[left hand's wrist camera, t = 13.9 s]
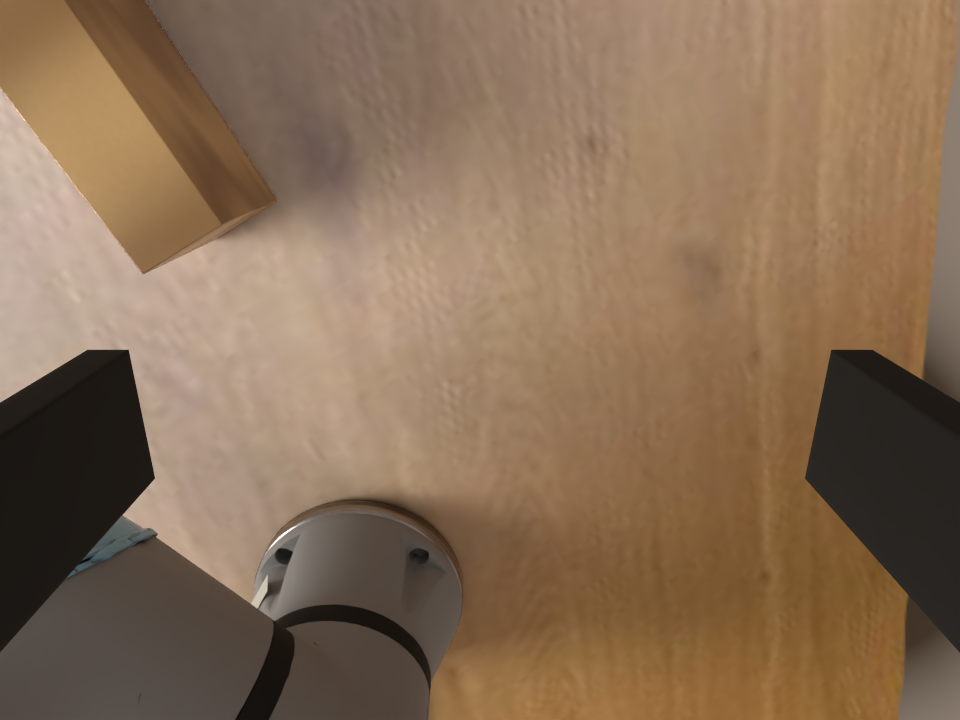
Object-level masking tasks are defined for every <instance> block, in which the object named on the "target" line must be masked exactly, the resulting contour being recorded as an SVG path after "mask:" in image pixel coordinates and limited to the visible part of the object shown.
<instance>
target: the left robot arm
mask: <svg viewBox="0 0 960 720" xmlns="http://www.w3.org/2000/svg"><path fill="white" fill-rule="evenodd" d="M154 479H155V476H154V471H153V467H152V462H151V457H150V452H149V447H148V442H147V437H146V433H145V428H144V423H143V418H142V413H141V408H140V403H139V398H138V394H137V389H136V384H135V379H134V374H133V369H132V364H131V359H130V355H129V350H87V351H85V352H83V353H82V354H80V355H78V356H77V357H75V358H73V359H72V360H70V361H68V362H67V363H65V364H64V365H62V366H60V367H59V368H57V369H55V370H54V371H52V372H50V373H49V374H47V375H45V376H44V377H42V378H40V379H39V380H37V381H35V382H34V383H32V384H31V385H29V386H27V387H26V388H24V389H22V390H21V391H19V392H17V393H16V394H14V395H12V396H11V397H9V398H7V399H6V400H4V401H2V402H1V403H0V720H428V715H429V701H430V687H431V681H432V679H433V677H434V675H435V673H436V671H437V669H438V667H439V665H440V663H441V661H442V659H443V657H444V655H445V653H446V651H447V649H448V647H449V645H450V643H451V641H452V639H453V637H454V635H455V632H456V630H457V627H458V624H459V621H460V618H461V613H462V602H463V579H462V573H461V569H460V566H459V563H458V561H457V558H456V556H455V554H454V552H453V551H452V549H451V547H450V546H449V544H448V543H447V542H446V540H445V539H444V538H443V537H442V536H441V535H440V534H439V533H438V532H437V531H436V530H435V529H434V528H433V527H432V526H430V525H429V524H428V523H426V522H425V521H424V520H422V519H420V518H419V517H417V516H415V515H413V514H411V513H409V512H407V511H405V510H403V509H400V508H398V507H395V506H391V505H388V504H384V503H379V502H373V501H363V500H348V501H338V502H332V503H328V504H324V505H320V506H317V507H314V508H312V509H310V510H307V511H305V512H303V513H302V514H300V515H298V516H296V517H295V518H293V519H292V520H291V521H289V522H288V523H287V524H286V525H285V526H283V527H282V528H281V530H280V531H279V532H278V533H277V534H276V535H275V537H274V538H273V539H272V541H271V543H270V544H269V546H268V548H267V550H266V552H265V554H264V556H263V558H262V560H261V563H260V565H259V567H258V570H257V574H256V578H255V585H254V593H253V601H252V603H251V604H250V603H249V602H247V601H246V600H244V599H243V598H242V597H240V596H239V595H237V594H236V593H234V592H233V591H232V590H230V589H229V588H227V587H226V586H225V585H223V584H222V583H220V582H219V581H217V580H216V579H215V578H213V577H212V576H210V575H209V574H207V573H206V572H205V571H203V570H202V569H200V568H199V567H198V566H196V565H195V564H193V563H192V562H190V561H189V560H188V559H186V558H185V557H183V556H182V555H180V554H179V553H178V552H176V551H175V550H173V549H172V548H171V547H169V546H168V545H166V544H165V543H163V542H162V541H161V540H159V539H158V538H156V536H157V535H158V534H157V533H156V532H155V531H154V530H153V529H151V528H147V529H143V528H141V527H140V526H138V525H137V524H135V523H133V522H132V521H130V520H129V519H127V518H125V517H124V516H122V515H123V514H124V513H125V511H126V510H127V509H128V508H129V507H130V506H131V505H132V504H133V502H134V501H135V500H136V499H137V498H138V497H139V496H140V495H141V493H142V492H143V491H144V490H145V489H146V488H147V487H148V486H149V484H150V483H151V482H152V481H153V480H154ZM805 479H806V480H807V481H808V482H809V483H810V484H811V486H812V487H813V488H814V489H815V490H816V491H817V492H818V493H819V495H820V496H821V497H822V498H823V499H824V500H825V501H826V502H827V504H828V505H829V506H830V507H831V508H832V509H833V510H834V511H835V513H836V514H837V515H838V516H839V517H840V518H841V519H842V520H843V522H844V523H845V524H846V525H847V526H848V527H849V528H850V529H851V531H852V532H853V533H854V534H855V535H856V536H857V537H858V538H859V540H860V541H861V542H862V543H863V544H864V545H865V546H866V547H867V549H868V550H869V551H870V552H871V553H872V554H873V555H874V556H875V558H876V559H877V560H878V561H879V562H880V563H881V564H882V565H883V567H884V568H885V569H886V570H887V571H888V572H889V573H890V574H891V576H892V577H893V578H894V579H895V580H896V581H897V582H898V583H899V585H900V586H901V587H902V588H903V589H904V590H905V591H906V592H907V594H908V595H909V596H910V597H911V598H912V599H913V600H914V601H915V603H916V604H917V605H918V606H919V607H920V608H921V609H922V611H923V612H924V613H925V614H926V615H927V616H928V617H929V618H930V620H931V621H932V622H933V623H934V624H935V625H936V626H937V627H938V629H939V630H940V631H941V632H942V633H943V634H944V635H945V636H946V638H947V639H948V640H949V641H950V642H951V643H952V644H953V645H954V647H955V648H956V649H957V650H958V651H959V652H960V403H959V402H958V401H956V400H954V399H953V398H951V397H949V396H948V395H946V394H944V393H943V392H941V391H939V390H938V389H936V388H934V387H933V386H931V385H929V384H928V383H926V382H925V381H923V380H921V379H920V378H918V377H916V376H915V375H913V374H911V373H910V372H908V371H906V370H905V369H903V368H901V367H900V366H898V365H896V364H895V363H893V362H892V361H890V360H888V359H887V358H885V357H883V356H882V355H880V354H878V353H877V352H875V351H873V350H831V355H830V359H829V364H828V369H827V374H826V379H825V384H824V389H823V394H822V398H821V403H820V408H819V413H818V418H817V423H816V428H815V433H814V437H813V442H812V447H811V452H810V457H809V462H808V467H807V471H806V476H805Z"/></svg>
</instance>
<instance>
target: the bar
mask: <svg viewBox="0 0 960 720" xmlns="http://www.w3.org/2000/svg"><path fill="white" fill-rule="evenodd" d="M0 89H1V90H2V92H3V93H4V94H5V95H6V97H7V98H8V99H9V101H10V102H11V103H12V105H13V106H14V107H15V109H16V110H17V111H18V112H19V114H20V115H21V116H22V118H23V119H24V120H25V122H26V123H27V124H28V125H29V127H30V128H31V129H32V131H33V132H34V133H35V135H36V136H37V137H38V138H39V140H40V141H41V142H42V144H43V145H44V146H45V148H46V149H47V150H48V152H49V153H50V154H51V155H52V157H53V158H54V159H55V161H56V162H57V163H58V165H59V166H60V167H61V168H62V170H63V171H64V172H65V174H66V175H67V176H68V178H69V179H70V180H71V182H72V183H73V184H74V185H75V187H76V188H77V189H78V191H79V192H80V193H81V195H82V196H83V197H84V198H85V200H86V201H87V202H88V204H89V205H90V206H91V208H92V209H93V210H94V211H95V213H96V214H97V215H98V217H99V218H100V219H101V221H102V222H103V223H104V225H105V226H106V227H107V228H108V230H109V231H110V232H111V234H112V235H113V236H114V238H115V239H116V240H117V241H118V243H119V244H120V245H121V247H122V248H123V249H124V251H125V252H126V253H127V254H128V256H129V257H130V258H131V260H132V261H133V262H134V264H135V265H136V266H137V268H138V269H139V270H140V271H141V273H142V274H145V273H147V272H149V271H151V270H153V269H155V268H157V267H160V266H162V265H164V264H166V263H168V262H170V261H172V260H174V259H176V258H178V257H180V256H182V255H185V254H187V253H189V252H191V251H193V250H195V249H197V248H199V247H201V246H203V245H205V244H208V243H210V242H212V241H214V240H215V239H217V238H218V237H220V236H222V235H223V234H225V233H226V232H228V231H230V230H231V229H233V228H235V227H236V226H238V225H239V224H241V223H243V222H244V221H246V220H247V219H249V218H251V217H252V216H254V215H256V214H257V213H259V212H260V211H262V210H264V209H265V208H267V207H268V206H270V205H272V204H273V203H275V202H276V199H275V197H274V196H273V194H272V193H271V191H270V190H269V188H268V187H267V185H266V184H265V182H264V181H263V179H262V178H261V176H260V175H259V173H258V172H257V170H256V169H255V167H254V166H253V164H252V163H251V161H250V160H249V158H248V156H247V155H246V153H245V152H244V150H243V149H242V147H241V146H240V144H239V143H238V141H237V140H236V138H235V137H234V135H233V134H232V132H231V131H230V129H229V128H228V126H227V125H226V123H225V122H224V120H223V119H222V117H221V116H220V114H219V113H218V111H217V110H216V108H215V107H214V105H213V104H212V102H211V101H210V99H209V98H208V96H207V95H206V93H205V92H204V90H203V89H202V87H201V86H200V84H199V83H198V81H197V80H196V78H195V77H194V75H193V74H192V72H191V71H190V69H189V68H188V66H187V65H186V63H185V62H184V60H183V59H182V57H181V56H180V54H179V53H178V51H177V50H176V48H175V47H174V45H173V44H172V42H171V41H170V39H169V38H168V36H167V35H166V33H165V32H164V30H163V29H162V27H161V26H160V24H159V23H158V21H157V20H156V18H155V17H154V15H153V14H152V12H151V11H150V9H149V8H148V6H147V5H146V3H145V2H144V0H0Z"/></svg>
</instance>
